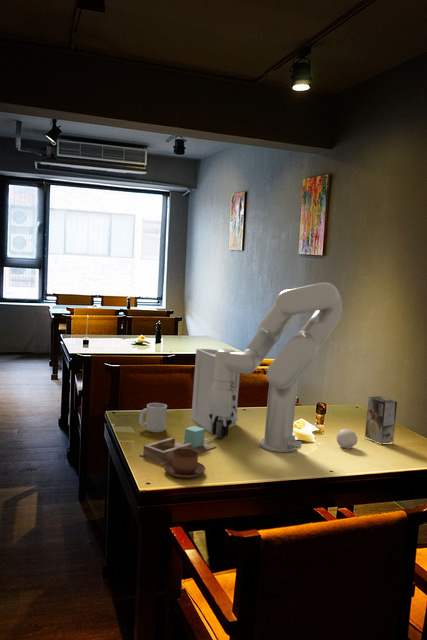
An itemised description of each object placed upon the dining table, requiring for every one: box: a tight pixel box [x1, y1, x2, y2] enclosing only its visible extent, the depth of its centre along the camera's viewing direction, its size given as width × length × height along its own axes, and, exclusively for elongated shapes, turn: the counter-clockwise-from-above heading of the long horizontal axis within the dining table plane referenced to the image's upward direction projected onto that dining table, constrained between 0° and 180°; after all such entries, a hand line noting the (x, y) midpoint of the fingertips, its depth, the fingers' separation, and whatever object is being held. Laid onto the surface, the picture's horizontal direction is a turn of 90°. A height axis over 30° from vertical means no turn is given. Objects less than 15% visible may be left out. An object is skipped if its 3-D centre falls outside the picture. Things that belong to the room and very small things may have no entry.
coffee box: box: [364, 396, 398, 444], centre depth 203 cm, size 9×6×16 cm
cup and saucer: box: [163, 449, 206, 479], centre depth 157 cm, size 12×12×6 cm
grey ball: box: [336, 428, 358, 449], centre depth 192 cm, size 7×7×7 cm
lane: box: [138, 437, 217, 466], centre depth 175 cm, size 25×11×3 cm, turn 142°
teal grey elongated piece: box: [183, 420, 224, 448], centre depth 187 cm, size 19×4×6 cm, turn 142°
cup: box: [138, 402, 168, 433], centre depth 196 cm, size 7×10×9 cm
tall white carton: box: [190, 348, 241, 434], centre depth 209 cm, size 19×15×28 cm
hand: (220, 434), depth 193 cm, fingers closed on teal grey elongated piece, 3 cm apart
